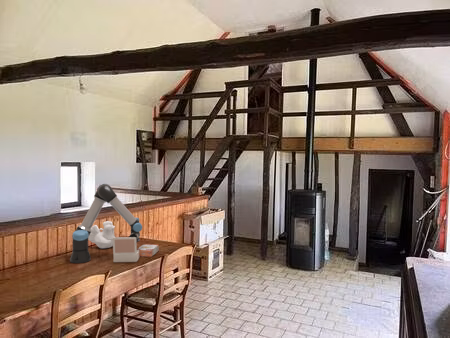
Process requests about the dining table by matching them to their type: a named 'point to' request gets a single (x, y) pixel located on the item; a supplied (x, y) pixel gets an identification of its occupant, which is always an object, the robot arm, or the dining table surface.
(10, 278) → the dining table surface
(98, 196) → the robot arm
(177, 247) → the dining table surface
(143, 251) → the cracker box
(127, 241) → the mailer lid
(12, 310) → the dining table surface
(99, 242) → the decorative rooster
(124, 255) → the box
